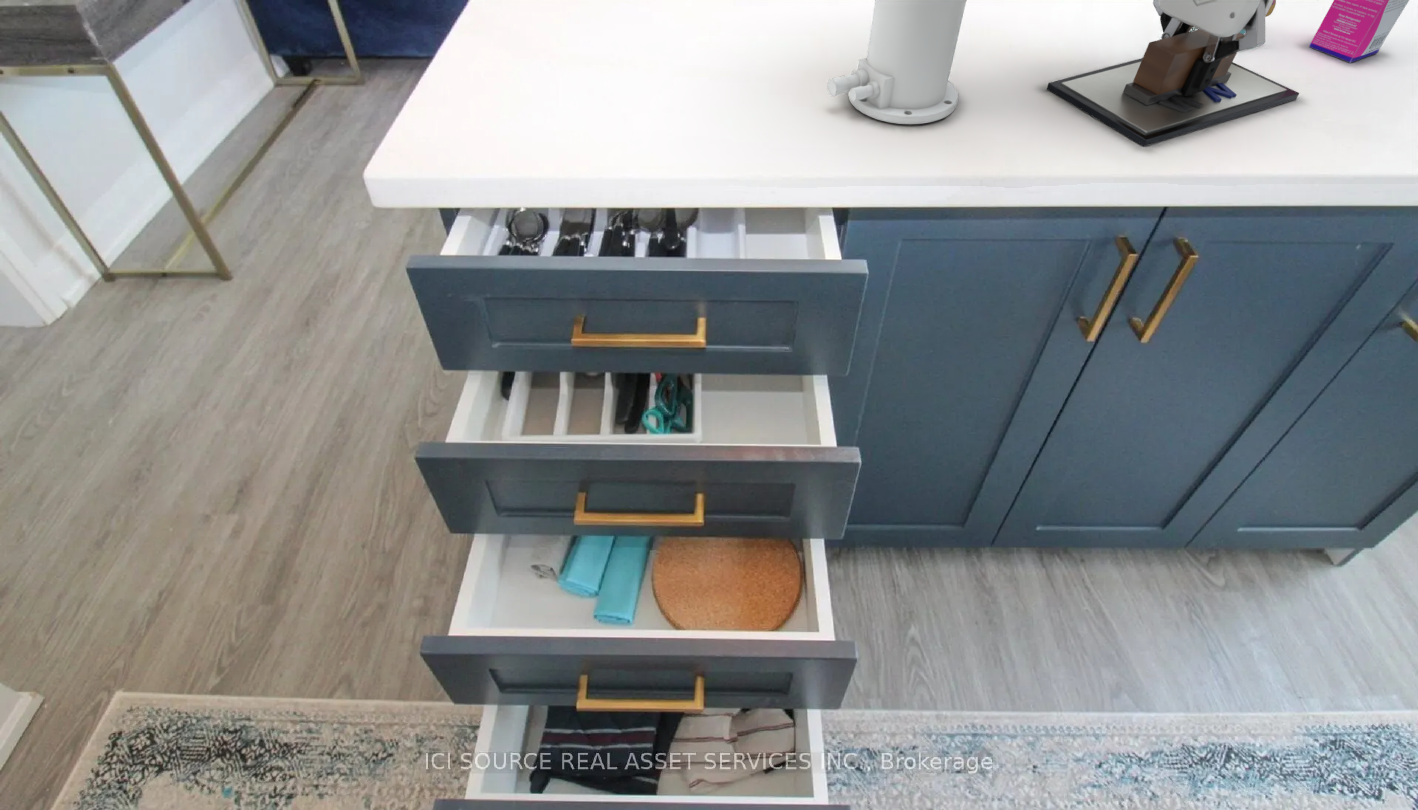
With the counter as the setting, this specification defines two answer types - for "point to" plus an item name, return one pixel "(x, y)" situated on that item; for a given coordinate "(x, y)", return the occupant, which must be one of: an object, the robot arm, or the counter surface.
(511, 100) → the counter surface
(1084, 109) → the whiteboard
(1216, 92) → the scribble
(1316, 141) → the counter surface
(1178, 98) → the scribble
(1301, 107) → the counter surface
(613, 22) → the counter surface
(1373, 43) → the supplement box
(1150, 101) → the eraser
